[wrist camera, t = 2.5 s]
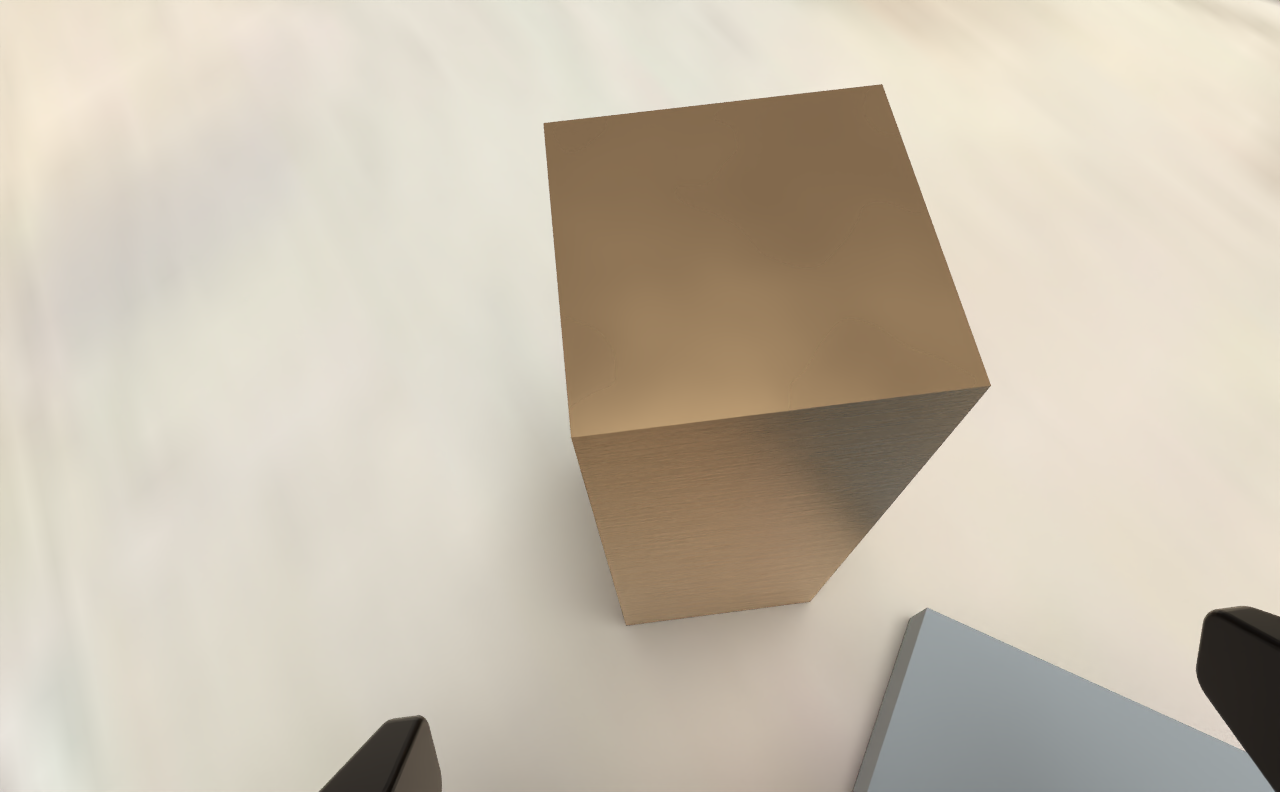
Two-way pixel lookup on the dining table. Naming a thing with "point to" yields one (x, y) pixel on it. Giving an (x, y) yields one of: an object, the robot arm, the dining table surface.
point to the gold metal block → (749, 340)
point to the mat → (1027, 727)
